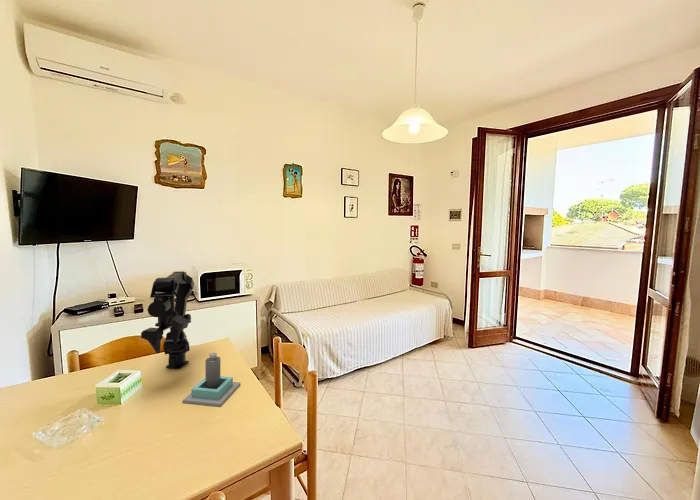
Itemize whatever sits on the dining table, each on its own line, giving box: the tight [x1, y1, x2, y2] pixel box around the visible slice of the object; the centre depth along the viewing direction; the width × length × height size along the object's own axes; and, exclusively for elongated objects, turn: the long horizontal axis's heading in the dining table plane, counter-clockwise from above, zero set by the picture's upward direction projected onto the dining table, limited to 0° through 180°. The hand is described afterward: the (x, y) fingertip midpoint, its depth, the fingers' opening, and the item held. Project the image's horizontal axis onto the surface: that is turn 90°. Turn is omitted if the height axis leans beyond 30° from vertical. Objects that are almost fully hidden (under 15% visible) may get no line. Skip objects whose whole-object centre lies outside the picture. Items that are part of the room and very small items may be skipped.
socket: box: [182, 375, 241, 408], centre depth 108 cm, size 14×14×4 cm
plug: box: [204, 352, 221, 389], centre depth 107 cm, size 5×5×14 cm
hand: (167, 348), depth 115 cm, fingers open, 9 cm apart
